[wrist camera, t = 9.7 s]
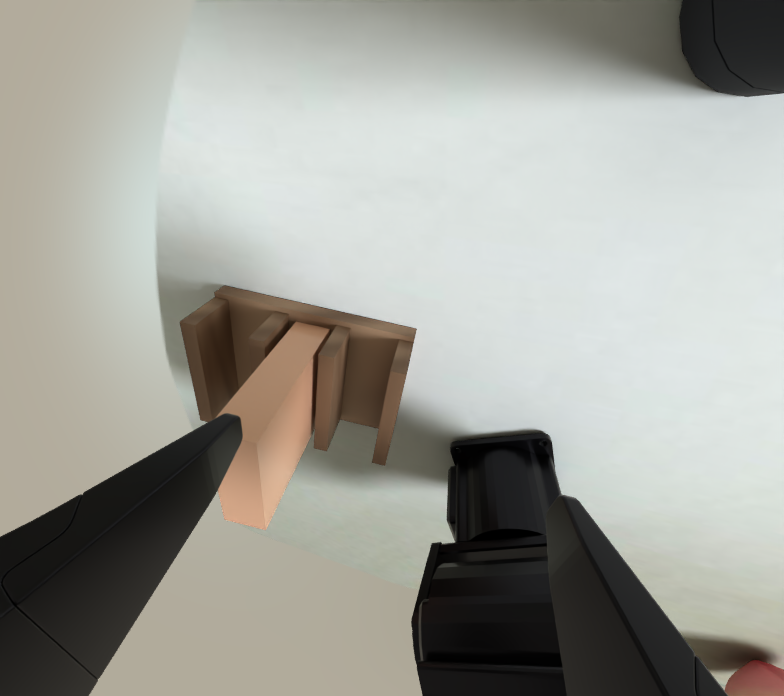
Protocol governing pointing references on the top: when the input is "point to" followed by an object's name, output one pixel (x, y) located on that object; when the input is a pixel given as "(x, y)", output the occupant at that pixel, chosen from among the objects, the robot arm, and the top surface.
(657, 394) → the top surface
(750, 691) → the decorative fruit
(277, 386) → the block
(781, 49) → the wine bottle
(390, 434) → the rack
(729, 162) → the top surface
